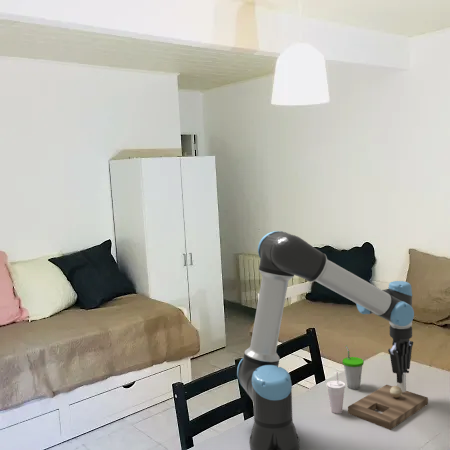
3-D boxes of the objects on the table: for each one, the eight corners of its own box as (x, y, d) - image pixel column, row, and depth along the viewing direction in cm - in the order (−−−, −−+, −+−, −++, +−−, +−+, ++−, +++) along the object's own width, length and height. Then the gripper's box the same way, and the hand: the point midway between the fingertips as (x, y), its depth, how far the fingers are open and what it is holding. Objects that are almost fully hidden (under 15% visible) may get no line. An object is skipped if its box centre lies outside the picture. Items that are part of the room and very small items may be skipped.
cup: (365, 391, 192) (364, 352, 190) (343, 391, 193) (342, 352, 192) (363, 382, 200) (362, 345, 198) (342, 382, 201) (341, 345, 199)
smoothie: (346, 415, 174) (345, 375, 173) (327, 414, 176) (325, 375, 174) (345, 407, 181) (344, 368, 179) (327, 406, 182) (325, 367, 180)
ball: (398, 400, 178) (398, 389, 177) (387, 397, 181) (387, 386, 180) (404, 397, 180) (404, 386, 180) (394, 393, 183) (393, 382, 183)
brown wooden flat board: (390, 429, 164) (390, 422, 163) (348, 413, 176) (347, 406, 175) (427, 404, 179) (427, 397, 179) (386, 391, 191) (386, 384, 191)
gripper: (400, 332, 173) (401, 399, 176) (420, 323, 182) (420, 387, 184) (380, 328, 179) (381, 393, 182) (400, 319, 187) (401, 382, 190)
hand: (401, 390), depth 183 cm, fingers closed
